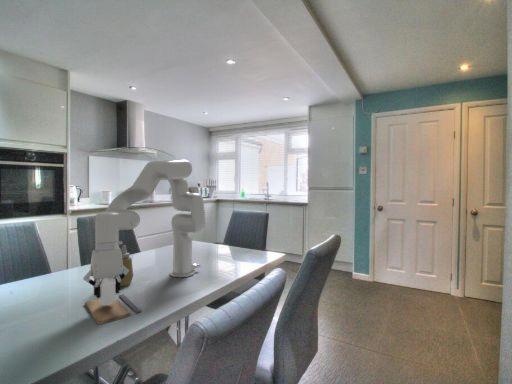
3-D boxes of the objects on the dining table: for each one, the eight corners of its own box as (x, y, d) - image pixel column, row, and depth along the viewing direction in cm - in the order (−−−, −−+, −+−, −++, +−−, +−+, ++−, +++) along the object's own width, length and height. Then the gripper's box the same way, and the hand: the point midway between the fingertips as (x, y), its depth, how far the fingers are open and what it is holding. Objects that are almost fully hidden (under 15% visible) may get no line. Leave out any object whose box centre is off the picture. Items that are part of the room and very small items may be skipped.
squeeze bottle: (137, 282, 131) (137, 244, 131) (123, 288, 123) (124, 248, 123) (123, 280, 134) (123, 243, 133) (109, 286, 126) (109, 246, 126)
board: (113, 297, 114) (113, 295, 114) (130, 315, 99) (130, 312, 99) (85, 304, 107) (85, 302, 107) (98, 324, 92) (98, 321, 92)
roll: (111, 272, 100) (95, 272, 99) (111, 305, 100) (95, 305, 100) (118, 267, 106) (103, 267, 105) (118, 298, 106) (103, 298, 106)
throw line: (123, 295, 116) (123, 294, 116) (141, 312, 101) (141, 310, 101) (119, 296, 115) (119, 295, 115) (136, 313, 100) (136, 312, 100)
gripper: (128, 241, 111) (128, 286, 111) (77, 247, 99) (77, 297, 100) (135, 244, 105) (134, 291, 106) (82, 251, 94) (82, 304, 94)
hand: (107, 294), depth 103 cm, fingers closed on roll, 5 cm apart
